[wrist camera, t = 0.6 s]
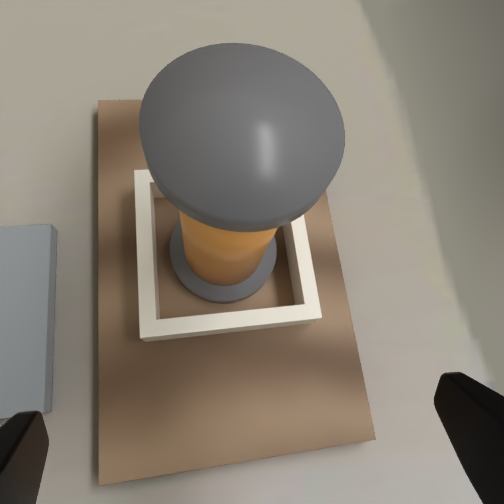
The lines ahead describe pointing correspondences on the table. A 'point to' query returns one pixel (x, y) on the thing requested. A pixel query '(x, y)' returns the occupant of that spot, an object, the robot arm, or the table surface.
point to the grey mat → (27, 317)
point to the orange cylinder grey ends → (237, 159)
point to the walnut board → (212, 345)
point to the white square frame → (216, 323)
